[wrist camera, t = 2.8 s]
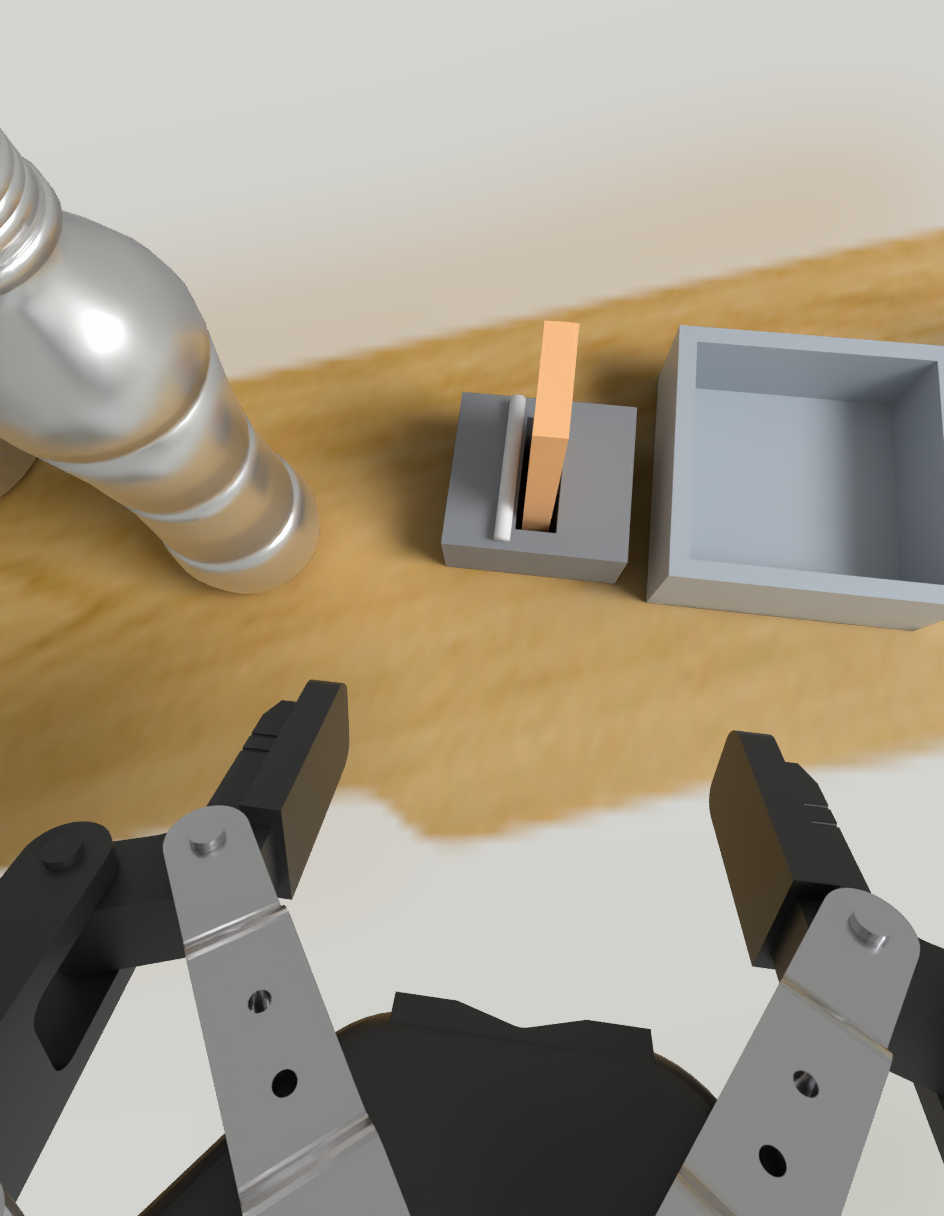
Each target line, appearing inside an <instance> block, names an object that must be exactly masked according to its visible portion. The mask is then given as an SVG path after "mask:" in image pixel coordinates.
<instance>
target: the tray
mask: <svg viewBox="0 0 944 1216" xmlns="http://www.w3.org/2000/svg"><path fill="white" fill-rule="evenodd" d="M646 603H655V604H664V605H674V606H683V607H693V608H702V609H711V610H721V611H730V612H740V613H749V614H758V615H768V616H777V617H787V618H796V619H805V620H815V621H824V622H834V623H843V624H852V625H862V626H871V627H881V628H890V629H899V630H909V631H915V630H918V629H920V628H923V627H926V626H929V625H931V624H934V623H937V622H940V621H942V620H944V346H938V345H925V344H913V343H900V342H887V341H875V340H862V339H850V338H837V337H824V336H812V335H799V334H787V333H774V332H761V331H749V330H736V329H724V328H711V327H699V326H686V325H680V326H679V328H678V331H677V333H676V336H675V338H674V341H673V343H672V346H671V348H670V350H669V353H668V355H667V358H666V360H665V363H664V365H663V368H662V370H661V373H660V375H659V377H658V388H657V407H656V426H655V445H654V464H653V482H652V501H651V520H650V539H649V558H648V577H647V595H646Z"/></svg>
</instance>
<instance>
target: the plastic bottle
mask: <svg viewBox="0 0 944 1216" xmlns="http://www.w3.org/2000/svg"><path fill="white" fill-rule="evenodd" d="M0 438H2V439H4V440H5V441H7V442H9V443H10V444H12V445H13V446H15V447H17V448H19V449H21V450H23V451H25V452H27V453H29V454H31V455H33V456H35V457H37V458H39V459H41V460H43V461H45V462H47V463H49V464H51V465H53V466H55V467H57V468H59V469H61V470H63V471H65V472H67V473H69V474H71V475H73V476H75V477H77V478H79V479H81V480H83V481H85V482H87V483H89V484H91V485H92V486H94V487H95V488H97V489H98V490H100V491H101V492H103V493H104V494H106V495H107V496H109V497H110V498H112V499H113V500H115V501H116V502H118V503H121V504H122V505H123V506H124V507H126V508H127V509H129V510H130V511H132V512H133V513H135V514H136V515H137V516H138V517H139V518H140V519H141V520H142V521H143V522H144V523H145V524H146V525H147V526H148V527H149V528H150V529H151V530H152V531H153V532H154V533H155V534H156V535H157V536H158V537H159V538H160V539H161V540H162V542H163V544H164V545H165V547H166V548H167V550H168V551H169V552H170V553H171V555H172V556H173V557H174V558H175V560H176V561H177V562H178V563H179V564H180V565H181V566H182V567H183V569H184V570H185V571H186V572H188V573H189V574H190V575H191V576H193V577H194V578H195V579H197V580H199V581H201V582H203V583H205V584H207V585H209V586H212V587H215V588H218V589H222V590H225V591H229V592H233V593H240V594H253V593H262V592H265V591H269V590H272V589H275V588H277V587H279V586H281V585H283V584H285V583H287V582H289V581H290V580H291V579H293V578H294V577H295V576H297V575H298V574H299V573H300V572H301V571H302V570H303V569H304V567H305V566H306V565H307V564H308V562H309V561H310V559H311V558H312V556H313V554H314V552H315V550H316V547H317V544H318V541H319V535H320V520H319V514H318V509H317V505H316V501H315V498H314V495H313V492H312V491H311V489H310V487H309V485H308V484H307V482H306V481H305V480H304V479H303V478H302V477H301V475H300V474H299V473H298V472H297V471H296V470H295V469H294V468H293V467H292V466H291V465H290V464H289V463H288V462H287V461H286V460H284V459H283V458H282V457H280V456H279V455H278V454H276V453H275V452H274V451H273V450H272V449H271V448H270V446H269V445H268V444H267V443H266V442H265V441H264V439H263V438H262V437H261V436H260V435H259V434H258V432H257V431H256V430H255V429H254V428H253V426H252V425H251V423H250V422H249V420H248V418H247V416H246V414H245V413H244V411H243V409H242V407H241V405H240V404H239V402H238V400H237V398H236V396H235V394H234V393H233V391H232V389H231V387H230V385H229V382H228V380H227V377H226V375H225V372H224V370H223V367H222V365H221V362H220V360H219V357H218V354H217V352H216V349H215V347H214V344H213V342H212V339H211V337H210V334H209V331H208V330H207V327H206V323H205V321H204V319H203V317H202V315H201V313H200V311H199V309H198V307H197V305H196V304H195V301H194V299H193V297H192V296H191V294H190V292H189V290H188V288H187V287H186V285H185V283H184V282H183V281H182V280H181V279H180V278H179V277H178V276H177V274H176V273H175V272H174V271H173V270H172V269H171V268H170V267H168V266H167V265H166V264H165V263H164V262H163V261H162V260H160V259H159V258H158V257H157V256H156V255H155V254H153V253H152V252H151V251H150V250H149V249H148V248H146V247H145V246H143V245H141V244H140V243H139V242H137V241H135V240H134V239H133V238H131V237H128V236H126V235H124V234H122V233H119V232H117V231H115V230H112V229H110V228H108V227H106V226H103V225H101V224H99V223H96V222H94V221H92V220H89V219H87V218H84V217H82V216H79V215H75V214H72V213H69V212H66V211H62V209H61V204H60V201H59V199H58V197H57V195H56V193H55V191H54V190H53V188H52V187H51V186H50V185H49V183H48V182H47V181H46V179H45V178H44V177H43V175H42V174H41V173H40V172H39V171H38V169H37V168H36V167H35V166H34V165H33V164H32V163H31V162H29V161H28V160H26V159H25V158H24V157H22V156H21V155H20V153H19V152H18V151H17V149H16V148H15V147H14V146H13V144H12V143H11V142H10V140H9V139H8V138H7V136H6V135H5V134H4V132H3V131H2V130H1V128H0Z"/></svg>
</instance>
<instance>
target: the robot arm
mask: <svg viewBox="0 0 944 1216" xmlns="http://www.w3.org/2000/svg"><path fill="white" fill-rule="evenodd" d="M35 459H36V457H35V456H33V455H31V454H29V453H27V452H25V451H23V450H21V449H19V448H17V447H15V446H13V445H12V444H10V443H9V442H7V441H5V440H4V439H2V438H0V497H1V496H2V495H3V494H5V493H6V492H8V491H9V490H10V489H11V488H12V487H13V486H14V485H15V484H16V483H17V482H18V481H19V480H20V479H21V478H22V477H23V476H24V475H25V474H26V472H27V471H28V470H29V468H30V467H31V465H32V464H33V462H34V461H35ZM348 749H349V721H348V698H347V687H346V685H345V684H344V683H337V682H328V681H320V680H309V681H308V683H307V684H306V686H305V688H304V689H303V691H302V693H301V695H300V697H299V698H298V700H297V702H293V701H284V700H282V701H280V702H279V703H278V704H276V705H275V706H274V707H272V708H271V709H270V710H268V711H267V712H266V713H264V714H263V715H262V717H261V718H260V720H259V722H258V723H257V725H256V727H255V728H254V730H253V732H252V735H251V736H249V738H248V740H247V741H246V743H245V745H244V746H243V750H242V751H240V753H239V754H238V756H237V758H236V759H235V761H234V762H233V764H232V766H231V767H230V769H229V771H228V772H227V774H226V775H225V777H224V779H223V780H222V782H221V784H220V785H219V787H218V789H217V790H216V792H215V793H214V795H213V797H212V798H211V800H210V802H209V803H208V805H207V806H206V807H203V808H200V809H197V810H195V811H192V812H190V813H188V814H187V815H185V816H183V817H182V818H181V819H179V820H178V821H177V822H176V823H175V824H174V825H173V826H172V827H171V828H170V829H169V831H168V833H165V834H161V835H156V836H150V837H142V838H135V839H128V840H121V841H112V837H111V835H110V833H109V831H108V830H107V829H106V828H105V827H103V826H102V825H100V824H97V823H94V822H72V823H68V824H64V825H61V826H58V827H55V828H53V829H51V830H49V831H47V832H45V833H43V834H42V835H40V836H39V837H37V838H36V839H34V840H33V841H32V842H31V843H30V844H28V845H27V846H26V847H25V849H24V850H23V851H22V852H21V853H20V854H19V856H18V857H17V858H16V859H15V861H14V862H13V863H12V864H11V866H10V867H9V868H8V869H7V871H6V872H5V873H4V875H3V876H2V877H1V878H0V1216H24V1214H23V1212H22V1211H21V1210H20V1208H19V1207H18V1206H17V1204H16V1201H17V1199H18V1197H19V1195H20V1193H21V1191H22V1189H23V1187H24V1185H25V1183H26V1181H27V1179H28V1177H29V1175H30V1173H31V1171H32V1169H33V1167H34V1165H35V1164H36V1162H37V1159H38V1158H39V1156H40V1154H41V1152H42V1150H43V1148H44V1146H45V1144H46V1142H47V1140H48V1138H49V1136H50V1134H51V1132H52V1130H53V1128H54V1126H55V1124H56V1122H57V1120H58V1118H59V1117H60V1115H61V1113H62V1111H63V1108H64V1106H65V1105H66V1103H67V1101H68V1099H69V1097H70V1095H71V1093H72V1091H73V1089H74V1087H75V1085H76V1083H77V1081H78V1079H79V1077H80V1075H81V1073H82V1072H83V1070H84V1068H85V1066H86V1064H87V1062H88V1060H89V1057H90V1055H91V1054H92V1052H93V1050H94V1048H95V1046H96V1044H97V1042H98V1040H99V1038H100V1036H101V1034H102V1032H103V1030H104V1028H105V1026H106V1025H107V1023H108V1021H109V1019H110V1017H111V1015H112V1013H113V1011H114V1009H115V1007H116V1005H117V1003H118V1001H119V999H120V997H121V995H122V993H123V991H124V989H125V987H126V985H127V983H128V981H129V979H130V977H131V976H132V974H133V972H134V970H135V968H136V966H142V965H147V964H153V963H158V962H164V961H169V960H175V959H180V958H186V960H187V965H188V970H189V974H190V979H191V983H192V988H193V992H194V996H195V1000H196V1006H197V1010H198V1015H199V1019H200V1023H201V1028H202V1032H203V1037H204V1041H205V1046H206V1050H207V1055H208V1059H209V1064H210V1068H211V1073H212V1077H213V1082H214V1086H215V1091H216V1095H217V1100H218V1104H219V1108H220V1113H221V1117H222V1122H223V1126H224V1130H225V1134H224V1135H222V1136H221V1137H220V1138H219V1139H218V1140H217V1141H216V1142H215V1143H214V1144H213V1145H212V1146H211V1147H210V1148H209V1149H208V1150H207V1151H206V1152H205V1153H203V1155H201V1156H200V1157H199V1158H198V1159H197V1160H196V1161H195V1162H194V1163H193V1164H192V1165H191V1166H190V1167H189V1168H188V1169H187V1170H186V1171H184V1172H183V1174H181V1175H180V1176H179V1177H178V1178H177V1179H176V1180H175V1181H174V1182H173V1183H172V1184H171V1185H170V1186H169V1187H168V1188H167V1189H166V1190H165V1191H163V1192H162V1193H161V1194H160V1195H159V1196H158V1197H157V1198H156V1199H155V1200H154V1201H153V1202H152V1203H151V1204H150V1205H149V1206H148V1207H147V1208H145V1210H143V1211H142V1212H141V1213H140V1214H139V1215H138V1216H841V1214H842V1210H843V1208H844V1204H845V1202H846V1199H847V1195H848V1193H849V1189H850V1187H851V1184H852V1181H853V1178H854V1175H855V1171H856V1168H857V1166H858V1162H859V1160H860V1156H861V1153H862V1151H863V1147H864V1145H865V1142H866V1139H867V1136H868V1133H869V1129H870V1127H871V1124H872V1121H873V1118H874V1115H875V1111H876V1108H877V1106H878V1102H879V1100H880V1097H881V1094H882V1091H883V1088H884V1085H885V1082H886V1079H887V1076H888V1073H889V1071H890V1072H892V1073H894V1074H896V1075H899V1076H901V1077H903V1078H905V1079H907V1080H910V1081H911V1082H913V1083H914V1086H915V1088H916V1091H917V1094H918V1096H919V1099H920V1102H921V1104H922V1107H923V1110H924V1112H925V1115H926V1118H927V1120H928V1123H929V1126H930V1128H931V1131H932V1134H933V1136H934V1139H935V1142H936V1144H937V1147H938V1150H939V1152H940V1155H941V1158H942V1160H943V1163H944V949H943V948H941V947H938V946H936V945H933V944H930V943H928V942H926V941H924V940H922V939H920V938H918V937H917V935H916V933H915V931H914V929H913V928H912V926H911V925H910V923H909V922H908V921H907V920H906V918H905V917H904V916H903V915H902V914H901V913H900V912H899V911H898V910H897V909H895V908H894V907H893V906H891V905H890V904H889V903H887V902H886V901H884V900H883V899H881V898H879V897H877V896H875V895H873V894H871V892H870V890H869V888H868V886H867V884H866V882H865V879H864V878H863V875H862V873H861V871H860V869H859V867H858V865H857V863H856V861H855V859H854V857H853V855H852V853H851V851H850V849H849V847H848V845H847V843H846V841H845V839H844V837H843V835H842V832H841V830H840V828H837V822H836V820H835V818H834V816H833V814H832V812H831V810H829V809H828V804H827V802H826V800H825V798H824V796H823V794H822V792H821V790H820V788H819V786H818V784H817V783H816V782H815V781H814V780H813V778H812V777H811V776H810V775H809V774H808V773H807V772H806V771H805V770H804V769H803V768H802V767H801V766H800V765H799V764H798V763H790V762H785V761H784V758H783V756H782V754H781V752H780V749H779V747H778V745H777V743H776V741H775V739H774V737H773V736H772V735H768V734H760V733H752V732H743V731H735V730H733V731H731V732H730V733H729V735H728V737H727V740H726V743H725V745H724V748H723V751H722V754H721V757H720V760H719V763H718V766H717V769H716V772H715V775H714V778H713V781H712V784H711V788H710V795H709V807H710V814H711V819H712V822H713V826H714V830H715V833H716V837H717V840H718V844H719V848H720V851H721V855H722V858H723V862H724V866H725V869H726V873H727V876H728V880H729V884H730V888H731V891H732V895H733V898H734V902H735V906H736V909H737V913H738V917H739V920H740V924H741V927H742V931H743V935H744V938H745V942H746V945H747V949H748V953H749V956H750V960H751V964H752V966H755V967H761V968H768V969H775V970H776V973H777V977H778V980H779V985H778V987H777V989H776V991H775V993H774V995H773V996H772V998H771V1000H770V1002H769V1004H768V1006H767V1008H766V1010H765V1011H764V1013H763V1015H762V1017H761V1019H760V1021H759V1023H758V1025H757V1026H756V1028H755V1030H754V1032H753V1034H752V1036H751V1038H750V1040H749V1042H748V1043H747V1045H746V1047H745V1049H744V1051H743V1053H742V1055H741V1057H740V1058H739V1060H738V1062H737V1064H736V1066H735V1068H734V1070H733V1072H732V1073H731V1075H730V1077H729V1079H728V1081H727V1083H726V1085H725V1087H724V1088H723V1090H722V1092H721V1094H720V1096H719V1098H718V1100H717V1099H716V1098H715V1097H714V1096H713V1095H712V1094H711V1093H710V1092H709V1090H708V1089H707V1088H705V1087H704V1086H703V1085H702V1084H701V1083H700V1082H699V1081H698V1080H697V1079H695V1078H694V1077H693V1076H692V1075H691V1074H689V1073H688V1072H686V1071H685V1070H684V1069H682V1068H681V1067H680V1066H678V1065H676V1064H675V1063H673V1062H671V1061H670V1060H668V1059H666V1058H665V1057H663V1056H661V1055H658V1054H656V1053H654V1052H653V1044H652V1036H651V1029H645V1028H638V1027H631V1026H624V1025H618V1024H611V1023H605V1022H597V1021H591V1020H582V1021H575V1022H568V1023H559V1024H552V1025H545V1026H537V1027H529V1028H520V1027H517V1026H514V1025H511V1024H509V1023H507V1022H504V1021H502V1020H500V1019H498V1018H496V1017H493V1016H491V1015H489V1014H486V1013H484V1012H482V1011H479V1010H477V1009H475V1008H473V1007H470V1006H468V1005H466V1004H464V1003H461V1002H459V1001H456V1000H449V999H442V998H435V997H429V996H422V995H415V994H409V993H401V992H396V993H395V998H394V1003H393V1008H392V1012H387V1013H380V1014H377V1015H373V1016H369V1017H366V1018H363V1019H360V1020H358V1021H356V1022H353V1023H351V1024H349V1025H347V1026H345V1027H344V1028H342V1029H340V1030H338V1031H337V1032H335V1031H334V1028H333V1025H332V1023H331V1020H330V1018H329V1015H328V1012H327V1010H326V1007H325V1005H324V1002H323V999H322V997H321V994H320V992H319V989H318V987H317V984H316V981H315V979H314V976H313V973H312V971H311V968H310V966H309V963H308V960H307V958H306V955H305V953H304V950H303V947H302V945H301V942H300V939H299V937H298V934H297V932H296V929H295V926H294V924H293V921H292V919H291V916H290V914H289V912H288V910H287V908H286V906H285V905H283V906H281V905H280V903H279V900H278V898H284V899H291V900H292V898H293V896H294V893H295V891H296V888H297V886H298V883H299V881H300V878H301V876H302V873H303V871H304V868H305V866H306V863H307V861H308V858H309V856H310V853H311V850H312V848H313V845H314V843H315V840H316V838H317V835H318V833H319V830H320V828H321V825H322V823H323V820H324V818H325V815H326V812H327V810H328V808H329V805H330V803H331V800H332V798H333V795H334V793H335V790H336V787H337V785H338V782H339V780H340V777H341V775H342V772H343V770H344V767H345V764H346V760H347V755H348Z"/></svg>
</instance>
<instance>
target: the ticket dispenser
mask: <svg viewBox="0 0 944 1216" xmlns="http://www.w3.org/2000/svg"><path fill="white" fill-rule="evenodd" d="M535 404H536V398H525V397H524V396H522V395H513V396H502V395H491V394H480V393H468V392H462V399H461V406H460V413H459V420H458V427H457V434H456V441H455V448H454V455H453V463H452V470H451V477H450V484H449V491H448V498H447V505H446V512H445V519H444V526H443V533H442V540H441V546H442V551H443V555H444V560H445V564H446V566H450V567H459V568H469V569H478V570H488V571H497V572H507V573H516V574H526V575H535V576H545V577H554V578H564V579H574V580H583V581H593V582H602V583H612V584H615V582H616V581H617V579H618V578H619V576H620V574H621V573H622V571H623V569H624V568H625V566H626V564H627V563H628V547H629V531H630V515H631V499H632V483H633V467H634V450H635V434H636V418H637V407H628V406H616V405H605V404H594V403H582V402H572V409H571V420H570V431H569V440H568V445H567V449H566V454H565V458H564V463H563V468H562V472H561V477H560V481H559V486H558V490H557V495H556V504H555V515H554V525H553V533H547V532H538V531H528V530H518V529H516V520H517V511H518V502H519V493H520V484H521V475H522V466H523V457H524V450H529V451H530V449H531V440H532V431H533V422H534V413H535Z"/></svg>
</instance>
